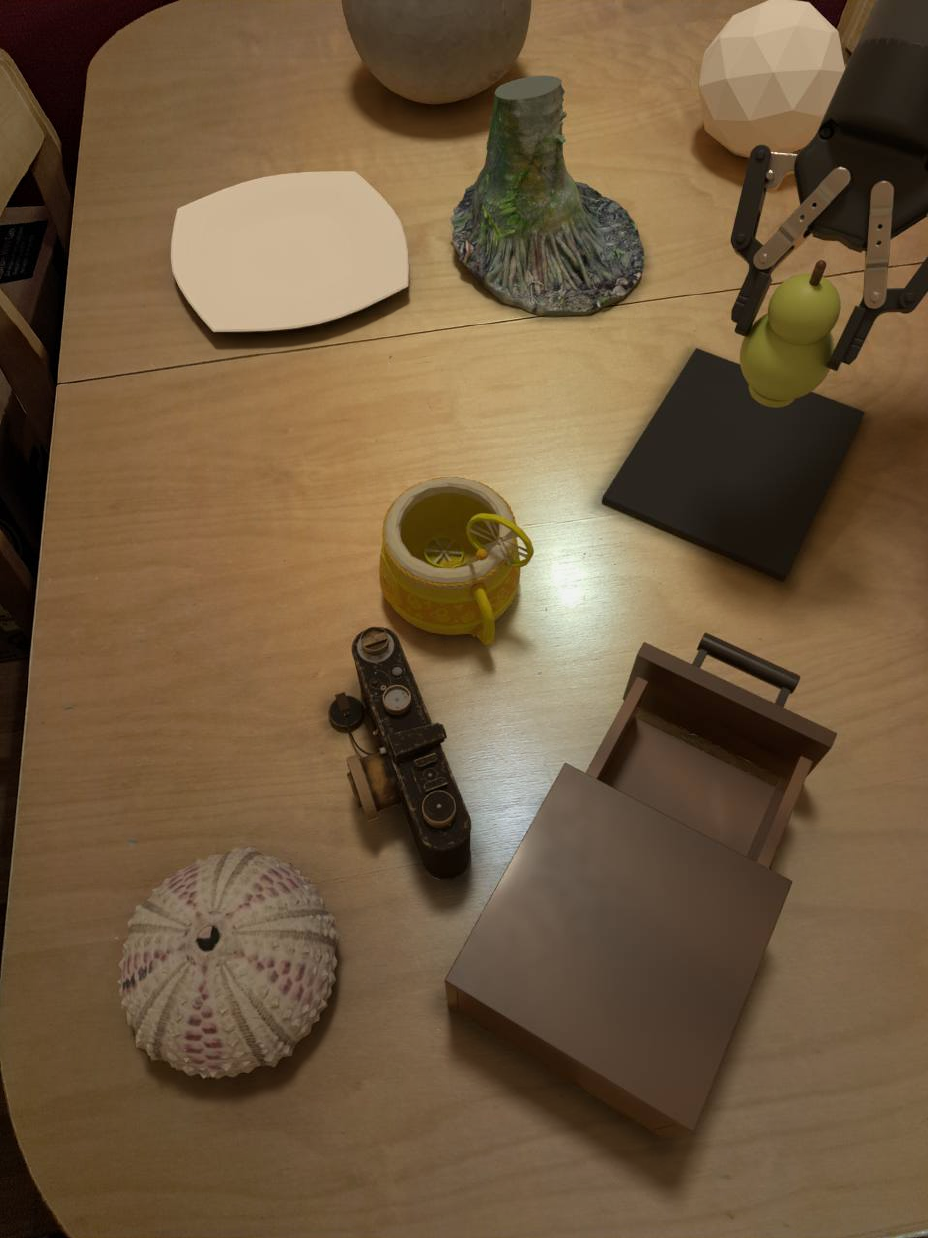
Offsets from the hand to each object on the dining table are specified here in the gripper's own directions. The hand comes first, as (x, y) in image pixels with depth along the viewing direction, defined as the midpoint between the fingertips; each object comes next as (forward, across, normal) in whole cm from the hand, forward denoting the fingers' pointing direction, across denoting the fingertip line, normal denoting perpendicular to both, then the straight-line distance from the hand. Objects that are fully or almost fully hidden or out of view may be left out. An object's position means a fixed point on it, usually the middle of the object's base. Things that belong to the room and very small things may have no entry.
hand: (786, 350), depth 59 cm
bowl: (-17, -52, +47) cm, 72 cm away
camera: (+36, -12, -7) cm, 38 cm away
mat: (+8, -1, +21) cm, 22 cm away
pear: (+2, 0, +4) cm, 5 cm away
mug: (+25, -16, +4) cm, 30 cm away
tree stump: (-3, -28, +33) cm, 43 cm away
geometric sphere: (-22, -16, +52) cm, 58 cm away
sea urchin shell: (+47, -14, -18) cm, 52 cm away
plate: (+7, -49, +23) cm, 55 cm away
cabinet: (+38, +6, -10) cm, 40 cm away
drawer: (+28, +6, -1) cm, 29 cm away
